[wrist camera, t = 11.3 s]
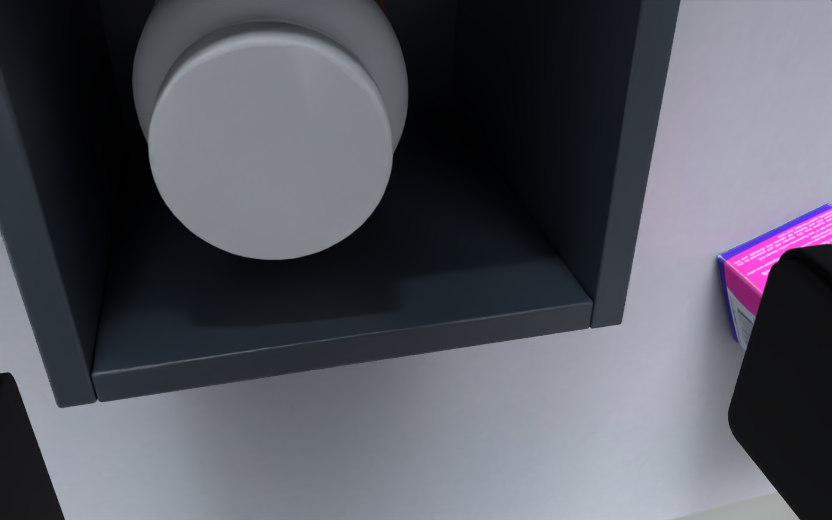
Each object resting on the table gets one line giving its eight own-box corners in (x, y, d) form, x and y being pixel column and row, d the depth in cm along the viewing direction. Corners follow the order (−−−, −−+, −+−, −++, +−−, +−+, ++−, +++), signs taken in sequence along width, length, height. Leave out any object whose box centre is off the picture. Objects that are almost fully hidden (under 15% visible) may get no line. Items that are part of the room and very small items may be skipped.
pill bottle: (334, 125, 27) (363, 324, 18) (148, 62, 25) (72, 249, 16) (406, -55, 24) (485, 71, 15) (203, -143, 22) (150, -60, 13)
